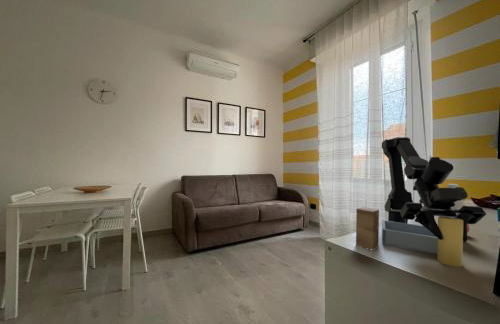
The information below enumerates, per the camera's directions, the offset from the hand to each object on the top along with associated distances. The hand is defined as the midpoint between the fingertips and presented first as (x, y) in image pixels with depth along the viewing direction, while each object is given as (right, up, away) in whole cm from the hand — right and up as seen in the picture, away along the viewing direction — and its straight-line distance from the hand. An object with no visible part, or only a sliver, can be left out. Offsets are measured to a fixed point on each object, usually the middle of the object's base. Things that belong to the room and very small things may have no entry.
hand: (453, 240), depth 56 cm
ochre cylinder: (0, -7, +1) cm, 7 cm away
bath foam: (+19, -7, +20) cm, 28 cm away
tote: (0, -7, +15) cm, 16 cm away
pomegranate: (+26, -7, +26) cm, 37 cm away
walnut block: (-17, -6, +12) cm, 21 cm away
